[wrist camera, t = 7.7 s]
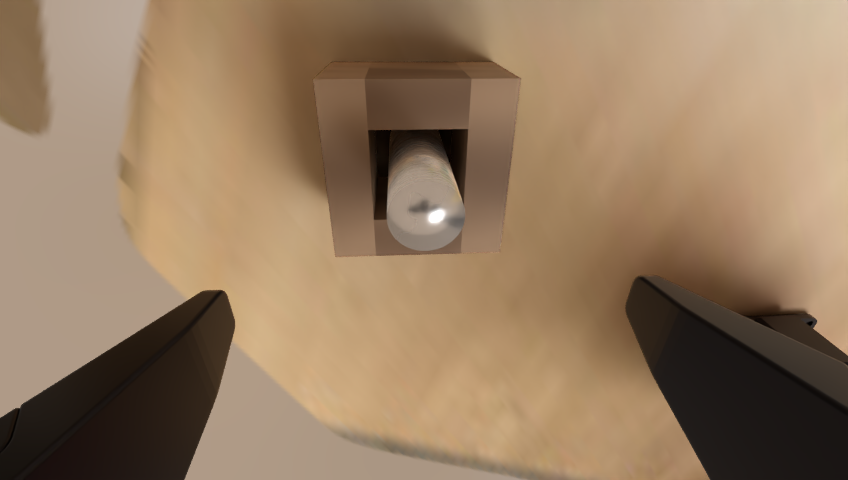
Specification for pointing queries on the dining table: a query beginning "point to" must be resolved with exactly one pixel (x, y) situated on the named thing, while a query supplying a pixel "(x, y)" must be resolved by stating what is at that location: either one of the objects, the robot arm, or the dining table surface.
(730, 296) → the dining table surface
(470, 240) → the block
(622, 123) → the dining table surface
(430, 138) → the cylinder
